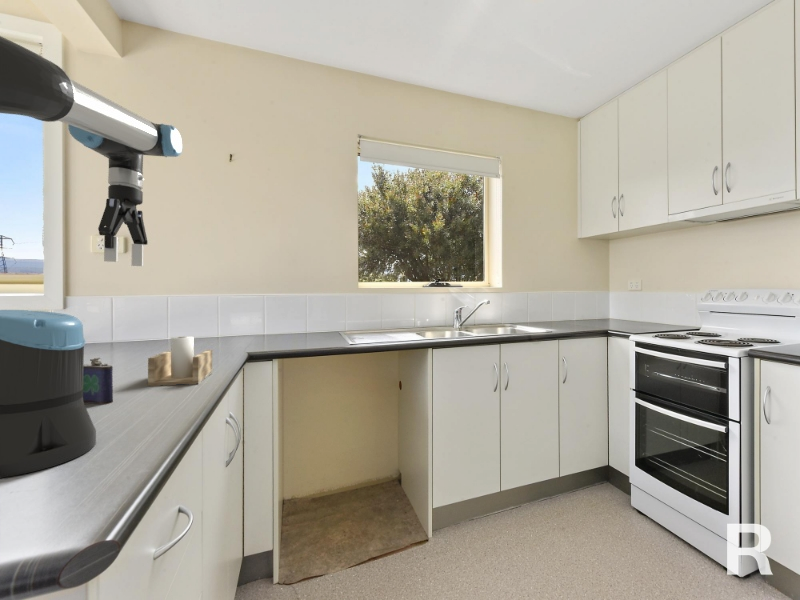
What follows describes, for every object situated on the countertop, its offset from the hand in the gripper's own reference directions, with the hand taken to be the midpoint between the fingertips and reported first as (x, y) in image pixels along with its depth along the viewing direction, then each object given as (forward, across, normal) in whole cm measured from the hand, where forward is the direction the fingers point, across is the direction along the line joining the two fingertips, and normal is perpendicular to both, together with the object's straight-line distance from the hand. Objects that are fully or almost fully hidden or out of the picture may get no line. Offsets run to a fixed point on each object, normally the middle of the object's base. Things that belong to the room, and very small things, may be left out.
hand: (125, 264), depth 96 cm
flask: (+35, -13, 0) cm, 37 cm away
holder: (+35, +8, -12) cm, 38 cm away
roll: (+34, +8, -12) cm, 37 cm away
